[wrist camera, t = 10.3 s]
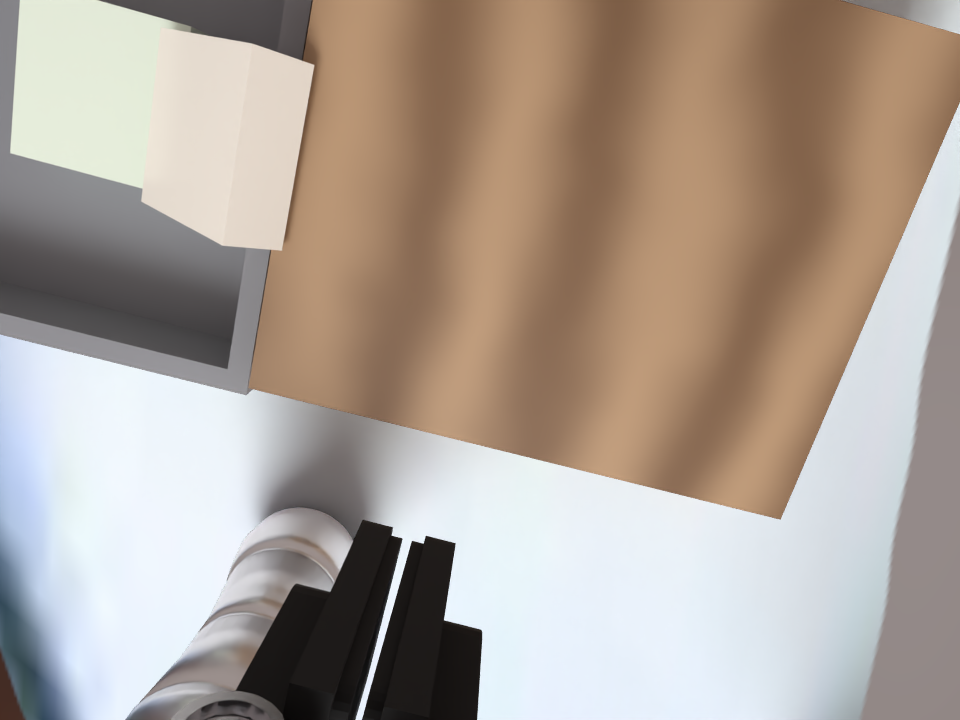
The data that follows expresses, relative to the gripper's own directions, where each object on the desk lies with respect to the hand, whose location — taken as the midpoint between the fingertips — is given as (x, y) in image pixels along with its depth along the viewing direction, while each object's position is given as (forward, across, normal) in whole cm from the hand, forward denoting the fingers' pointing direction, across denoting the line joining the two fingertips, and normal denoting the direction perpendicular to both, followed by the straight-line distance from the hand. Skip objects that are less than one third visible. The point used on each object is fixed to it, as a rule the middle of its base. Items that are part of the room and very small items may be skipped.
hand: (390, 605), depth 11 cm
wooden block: (+23, -3, -7) cm, 24 cm away
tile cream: (+18, +11, -6) cm, 22 cm away
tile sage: (+19, +18, -7) cm, 27 cm away
